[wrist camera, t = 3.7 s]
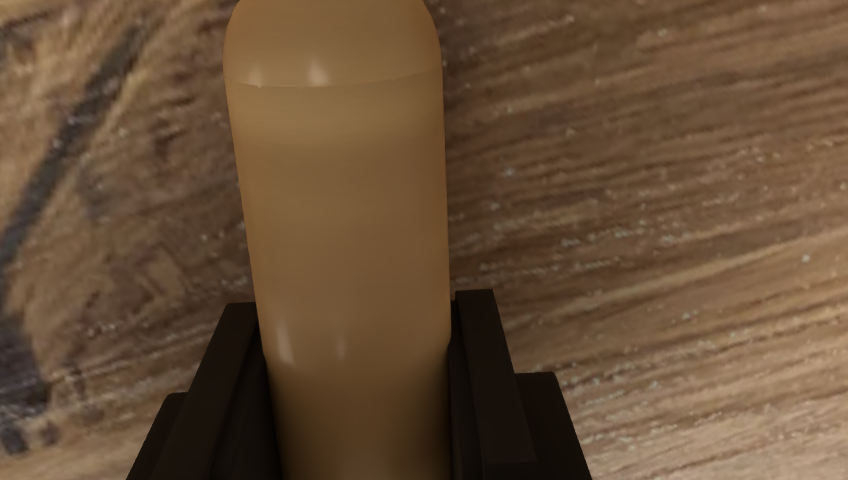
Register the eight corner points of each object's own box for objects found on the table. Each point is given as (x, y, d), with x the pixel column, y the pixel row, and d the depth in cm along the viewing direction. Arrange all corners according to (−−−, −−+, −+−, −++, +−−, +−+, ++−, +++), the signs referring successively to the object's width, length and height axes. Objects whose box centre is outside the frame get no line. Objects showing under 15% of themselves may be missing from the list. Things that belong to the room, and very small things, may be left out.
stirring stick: (231, -49, 9) (179, -40, 7) (432, -60, 9) (444, -52, 7) (326, 675, 14) (313, 818, 12) (460, 667, 14) (472, 808, 12)
